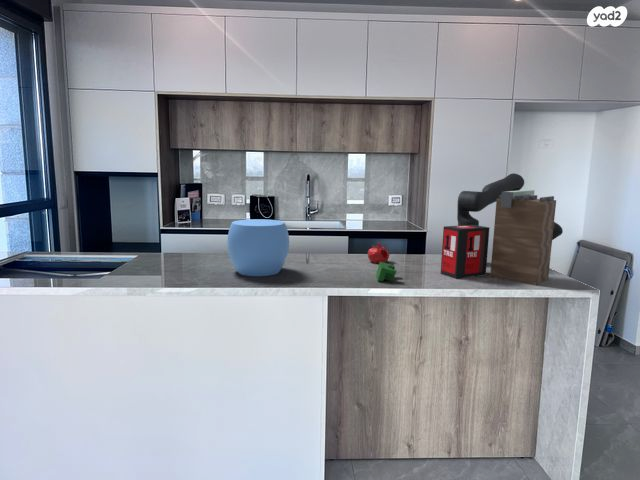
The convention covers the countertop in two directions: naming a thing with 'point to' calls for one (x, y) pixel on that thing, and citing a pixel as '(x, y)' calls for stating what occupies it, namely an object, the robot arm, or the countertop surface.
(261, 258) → the planter
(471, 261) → the cleaning product box
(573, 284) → the countertop surface
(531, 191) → the grey-green flat block
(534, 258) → the wooden box
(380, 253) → the pomegranate
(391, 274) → the green blocky piece
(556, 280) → the countertop surface
